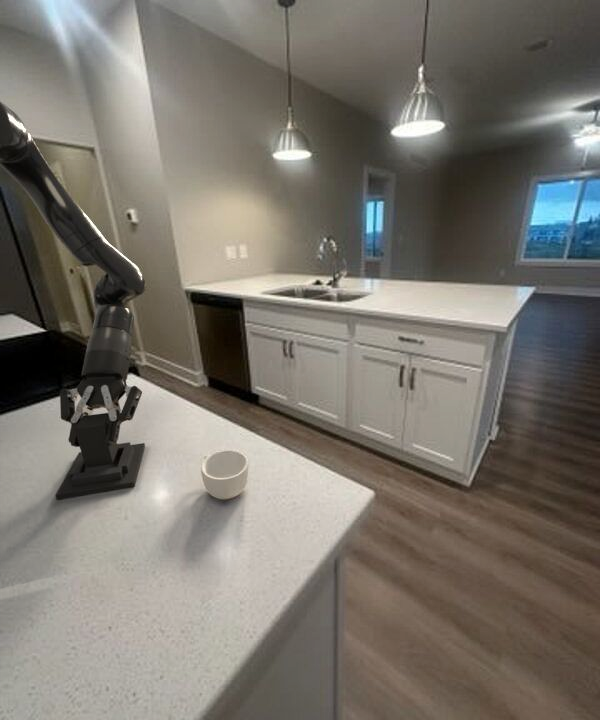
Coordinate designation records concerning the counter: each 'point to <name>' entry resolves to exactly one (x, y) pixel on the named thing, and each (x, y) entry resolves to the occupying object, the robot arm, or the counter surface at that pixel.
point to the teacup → (225, 473)
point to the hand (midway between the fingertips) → (92, 444)
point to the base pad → (106, 485)
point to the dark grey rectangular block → (95, 440)
